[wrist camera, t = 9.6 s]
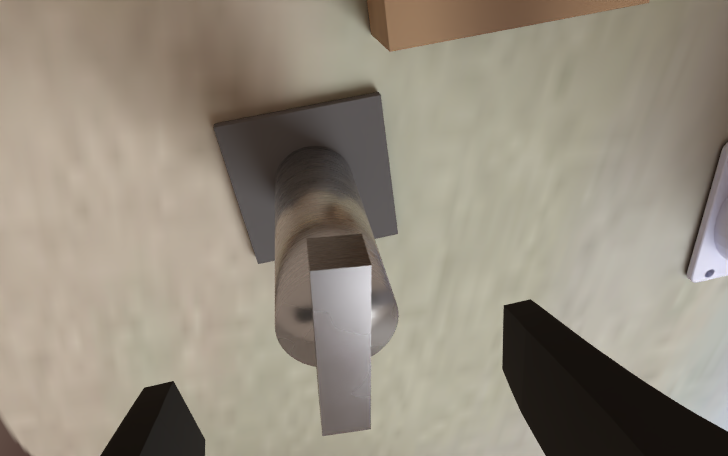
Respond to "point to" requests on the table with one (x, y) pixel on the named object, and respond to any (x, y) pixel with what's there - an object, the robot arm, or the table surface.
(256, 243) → the rubber mat
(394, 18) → the walnut socket block
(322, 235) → the grey upright piece
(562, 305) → the table surface
